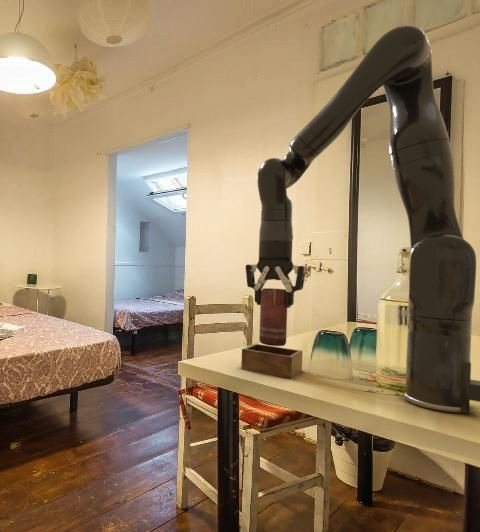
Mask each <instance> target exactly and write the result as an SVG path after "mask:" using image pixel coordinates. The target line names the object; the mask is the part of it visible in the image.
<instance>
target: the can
mask: <svg viewBox="0 0 480 532" xmlns="http://www.w3.org/2000/svg"><path fill="white" fill-rule="evenodd" d="M286 293H287V290H286V288H285V289H284V288H267V287H266V288H265V287H263V288H262V291H261V301H260V305H259V338H258V339H259V342H260V344H261V345H268V346H274V347H284V346H286V344H287V328H288V327H287V326H288V308H286V307H285V301H286Z"/></svg>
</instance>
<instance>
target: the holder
mask: <svg viewBox="0 0 480 532" xmlns="http://www.w3.org/2000/svg"><path fill="white" fill-rule="evenodd" d="M240 367H241V370H245V371H251V372H255V373H259V374H260V373H261V374H266V375H270V376H277V377H280V378H285V379H290V380H291V379H293V378H294V377H296V376H297V375H298V374H300V373H301V372H302V371H303V350H300V349H294V348H287V347H282V346H271V345H265V344H262V343H253V344H251V345H248V346H245V347H243V348H241V366H240Z"/></svg>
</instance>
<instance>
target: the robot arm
mask: <svg viewBox="0 0 480 532" xmlns="http://www.w3.org/2000/svg"><path fill="white" fill-rule="evenodd" d="M382 87H383V91H384V93H385V97H386V100H387V103H388V107H389V129H388V151H389V158H390V163H391V169H392V173H393V177H394V181H395V184H396V187H397V191H398V193H399V197H400V200H401V202H402V204H403V208H404V210H405V213H406V215H407V221H408V229H409V242H410V243H409V244H410V253H409V254H410V255H409V275H408V278H409V281H408V282H409V283H408V284H409V285H408V299H407V300H408V304H407V309H408V310H407V331H406V335H407V337H406V359H405V360H406V361H405V362H406V363H405V386H404V400H405V401H407V402H408V403H410V404H413V405H416V406H419V407H422V408H425V409H430V410H433V411H440V412H446V413H454V414H455V413H457V414H464V415H470V405H471V404H470V403H471V401H473V402H480V380H476V379H472V378H471V377H472V376H471V375H472V363H471V352H472V351H471V350H472V349H471V348H472V325H473V324H472V322H473V321H472V319H473V310H474V305H475V299H476V297H475V295H476V281H477V254H476V251H475V249H474V246H472V244H471V243H469V242H468V241H467V240H465V238H464V236H463V233H462V230H461V227H460V224H459V221H458V217H457V214H456V213H457V212H456V208H455V207H456V206H455V192H456V191H455V189H456V185H455V184H456V182H455V181H456V180H455V176H456V175H455V164H454V162H455V161H454V156H453V151H452V147H451V146H452V145H451V141H450V137H449V132H448V130H447V127H446V123H445V120H444V117H443V115H442V112H441V109H440V107H439V104H438V102H437V100H436V96H435V90H434V79H433V52H432V47H431V43H430V42H429V40H428V37H427V36H426V33H425V32H424V30H422V28H420V27H418V26H416V25H412V24H411V25H410V24H403V25H400V26H396V27H394V28H391V29H390V30H389V31H387V32H385V33H384V34H383V35H382V36H381V37H379V39H378V40H377V41H375V43H374V44H373V46H372V47H370V49H369V50H368V52H367V53H366V55H365V56H364V57H363V59H361V61H360V63H359V64H358V65H357V67H356V68H355V69H354V70H353V72H352V73H351V74H350V75H349V77H348V78H347V79H346V80H345V82H344V83H343V84H342V85H341V86H340V88H339V89H338V90H337V91H336V93H335V94H334V95H333V96H332V97H331V98H330V99H329V101H327V103H326V104H325V105H324V106H323V108H321V110H319V112H318V113H317V114H316V115H315V116H314V117H313V118H312V119H311V120H310V121H309V122H308V123H306V125H305V126H304V127H303V128H302V129H301V130H300V131H299V132H298V133H297V134H296V135H295V136H294V137H293V138H292V139H291V140H290V142H289V145H288V148H289V151H288V152H287V154H285V156H284V157H283V158H282V159H280V158H277V157H271V158H268V159H265V161H264V162H262V163H261V164H260V166H259V168H258V171H257V177H256V183H257V191H258V197H259V200H260V204H261V205H260V207H261V208H260V211H261V212H260V227H259V232H258V233H259V236H258V261H257V263H256V264H246V265H245V277H246V286H247V287H248V288H251V289H253V290H254V303H256V305H257V306H260V301H261V291H262V289H263V288H264V286H265V284H266V283H267V282H268V281H269V280H270V281H271V280H274V281H281V284H282V285H283V286H284V288H285V290H286V291H287V293H286V301H285V307H286V308H287V309H290V308H291V307H292V306H293V305H294V302H295V293H296V292H298V291H302V290H304V285H305V284H304V283H305V280H306V279H305V277H306V273H307V267H306V266H305V265H295V264H294V263H293V240H294V233H293V222H292V221H293V203H292V200H291V199H290V198H289V197H288V194H287V193H288V191H287V189H289V188H291V187H293V185H295V184H296V183H298V181H299V180H300V179H301V178H302V176H303V175H304V174H305V173H306V171H307V170H308V169H309V168H310V166H311V165H312V163H313V161H314V160H315V159H317V158H318V157H319V156H320V155H321V154H322V153H323V152H324V151H325V150H326V149H327V148H328V147H330V145H331V144H332V143H334V142H335V141H336V140H337V139H338V137H340V136H341V134H342V133H343V132H344V131H345V129H346V128H347V127H348V125H349V123H350V122H351V121H352V120H353V118H355V116H356V114H357V113H358V111H359V110H360V109H361V107H362V106H363V105H364V104H365V103H366V102H367V101H368V99H369V98H370V97H372V96H373V95H374V94H375V93H376V92H377V91H378V90H379V89H380V88H382ZM257 270H258V271H259V273H260V275H259V277H258V279H257V281H256V278H255V273H256V272H257ZM293 270H294V274H295V275H296V278H295V285H294V284H293V283H292V279H291V278H290V276H289V275H290V273H291V272H292V271H293Z"/></svg>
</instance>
